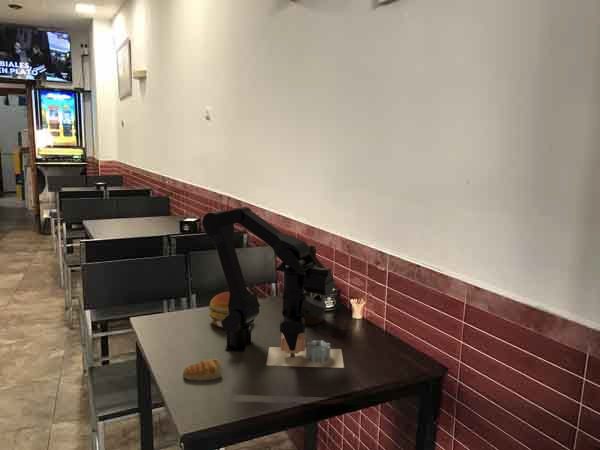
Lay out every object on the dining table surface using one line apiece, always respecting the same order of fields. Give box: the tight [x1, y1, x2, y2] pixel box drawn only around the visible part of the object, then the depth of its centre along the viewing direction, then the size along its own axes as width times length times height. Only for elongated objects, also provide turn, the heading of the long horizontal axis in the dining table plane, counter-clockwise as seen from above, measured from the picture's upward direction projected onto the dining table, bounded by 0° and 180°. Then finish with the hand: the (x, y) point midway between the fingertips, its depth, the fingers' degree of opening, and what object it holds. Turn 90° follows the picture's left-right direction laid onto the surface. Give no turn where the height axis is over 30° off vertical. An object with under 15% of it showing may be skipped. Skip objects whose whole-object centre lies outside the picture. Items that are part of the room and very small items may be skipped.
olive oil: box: [300, 243, 326, 326], centre depth 161 cm, size 11×11×25 cm
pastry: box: [182, 357, 223, 382], centre depth 124 cm, size 9×7×4 cm
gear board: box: [266, 346, 345, 369], centre depth 133 cm, size 20×11×6 cm, turn 89°
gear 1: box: [280, 333, 306, 354], centre depth 132 cm, size 6×6×4 cm
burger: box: [208, 291, 230, 329], centre depth 157 cm, size 14×14×10 cm
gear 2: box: [305, 340, 331, 363], centre depth 133 cm, size 6×6×4 cm
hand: (292, 344), depth 133 cm, fingers closed on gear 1, 6 cm apart
